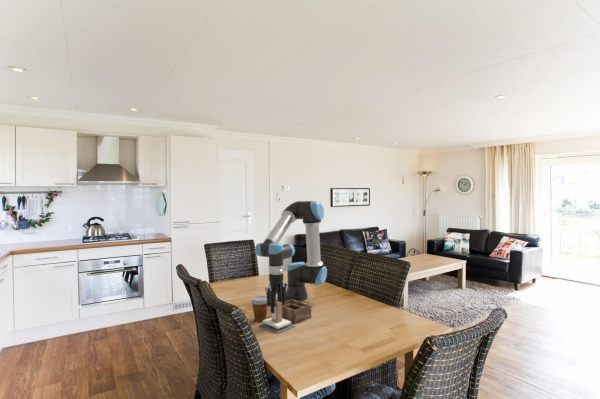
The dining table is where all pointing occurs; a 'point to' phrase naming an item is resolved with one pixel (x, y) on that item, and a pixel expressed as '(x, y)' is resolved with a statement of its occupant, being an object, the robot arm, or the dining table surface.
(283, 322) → the cover plate
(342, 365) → the dining table surface
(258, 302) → the disposable coffee cup
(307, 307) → the wooden box
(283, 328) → the rubber mat
